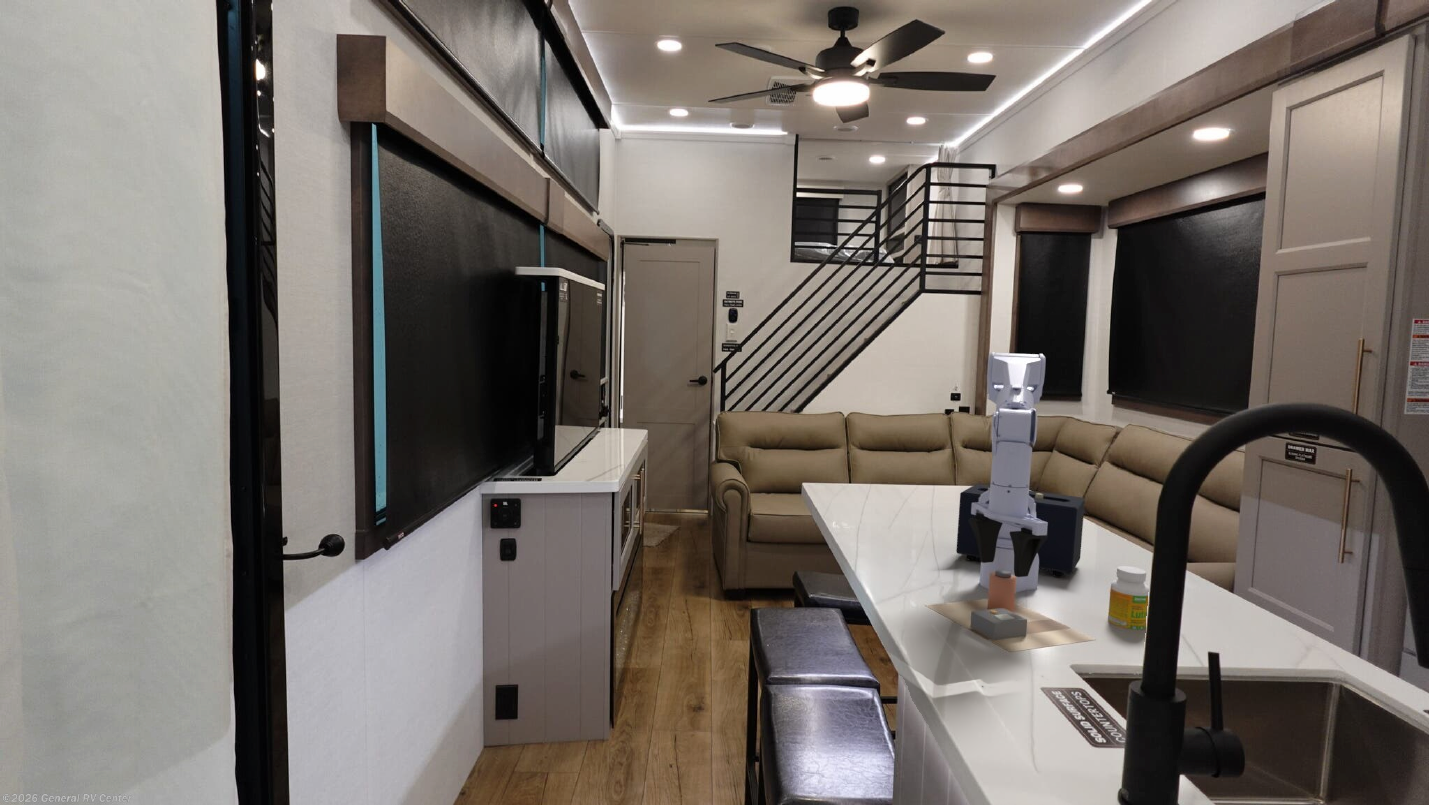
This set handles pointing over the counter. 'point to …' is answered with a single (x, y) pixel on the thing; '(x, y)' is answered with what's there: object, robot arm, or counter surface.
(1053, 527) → the speaker
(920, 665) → the counter surface
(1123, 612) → the supplement bottle
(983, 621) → the block
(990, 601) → the peg
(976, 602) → the board
